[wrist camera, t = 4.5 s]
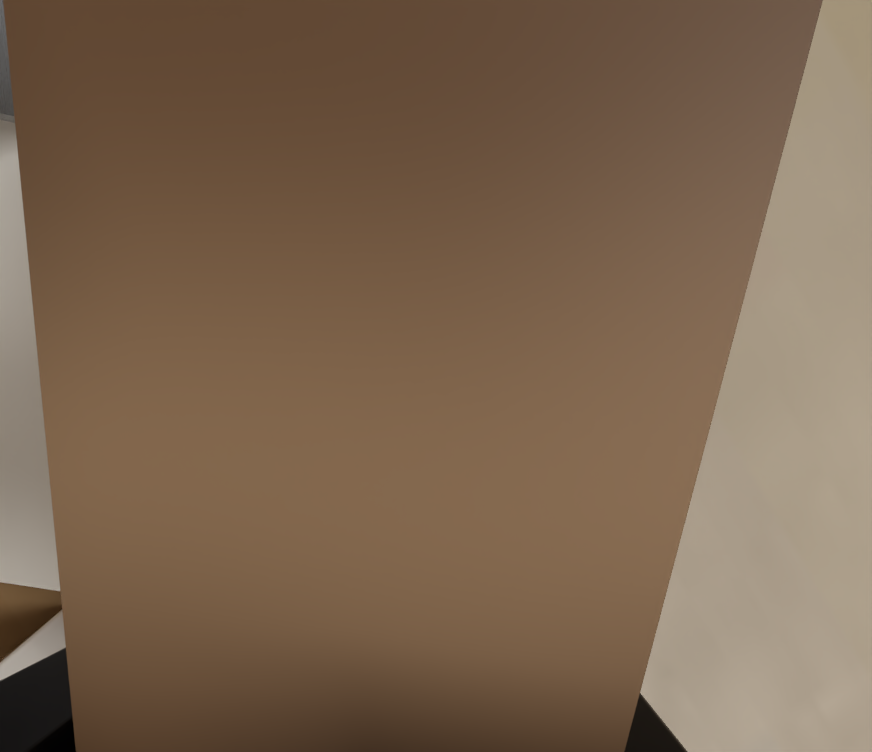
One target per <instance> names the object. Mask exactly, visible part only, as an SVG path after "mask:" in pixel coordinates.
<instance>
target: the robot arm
mask: <svg viewBox="0 0 872 752" xmlns="http://www.w3.org/2000/svg"><path fill="white" fill-rule="evenodd" d="M0 752H76V747H75V737H74V726H73V716H72V706H71V695H70V685H69V675H68V664H67V654H66V647H65V648H63V649H61V650H60V651H58V652H56V653H54V654H52V655H50V656H48V657H46V658H44V659H42V660H40V661H38V662H36V663H34V664H32V665H30V666H28V667H26V668H24V669H22V670H20V671H18V672H16V673H14V674H12V675H10V676H8V677H6V678H4V679H2V680H0ZM624 752H687V751H686V749H685V748H684V747H683V746H682V744H681V743H680V742H679V741H678V739H677V738H676V737H675V736H674V735H673V733H672V732H671V731H670V730H669V728H668V727H667V726H666V725H665V723H664V722H663V721H662V720H661V718H660V717H659V716H658V715H657V713H656V712H655V711H654V710H653V708H652V707H651V706H650V705H649V703H648V702H647V701H646V700H645V698H644V697H643V696H642V695H641V693H640V694H639V698H638V702H637V705H636V709H635V713H634V717H633V721H632V724H631V728H630V732H629V736H628V740H627V743H626V747H625V751H624Z"/></svg>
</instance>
